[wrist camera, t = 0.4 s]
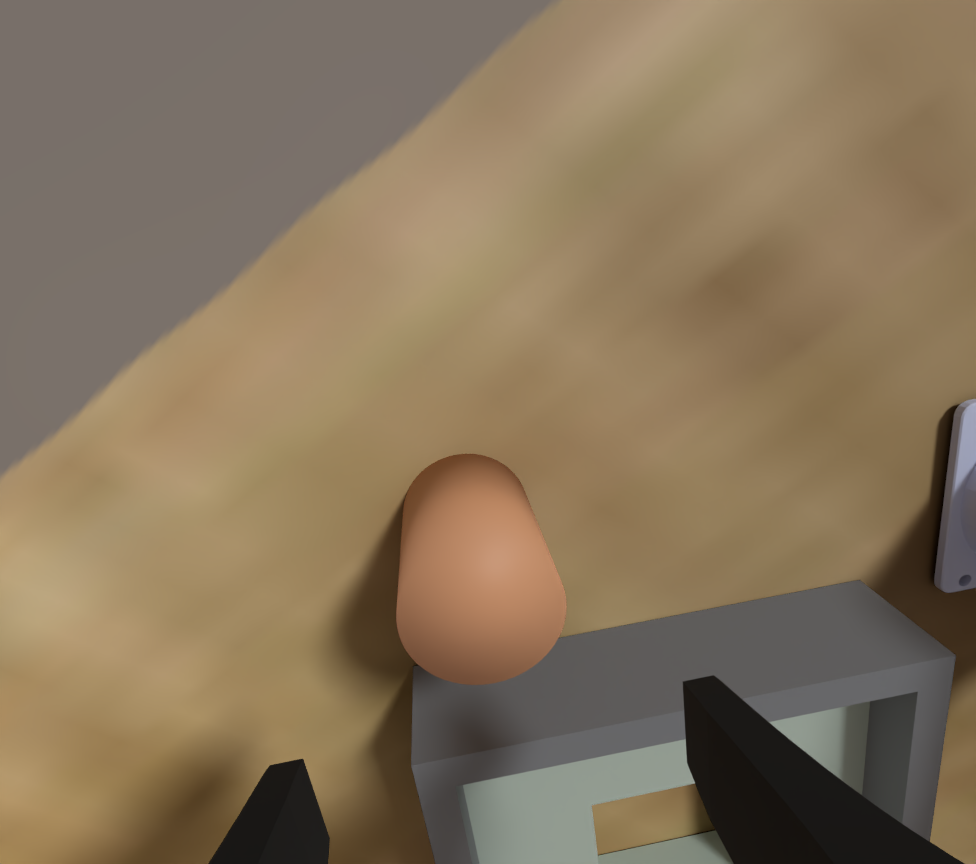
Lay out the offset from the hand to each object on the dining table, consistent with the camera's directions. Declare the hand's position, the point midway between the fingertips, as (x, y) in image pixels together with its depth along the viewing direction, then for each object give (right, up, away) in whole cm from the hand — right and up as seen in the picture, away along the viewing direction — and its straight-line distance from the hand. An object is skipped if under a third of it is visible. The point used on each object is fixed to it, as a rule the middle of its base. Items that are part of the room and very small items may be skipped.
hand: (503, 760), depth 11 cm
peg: (-1, +3, +10) cm, 10 cm away
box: (+7, -10, +15) cm, 19 cm away
